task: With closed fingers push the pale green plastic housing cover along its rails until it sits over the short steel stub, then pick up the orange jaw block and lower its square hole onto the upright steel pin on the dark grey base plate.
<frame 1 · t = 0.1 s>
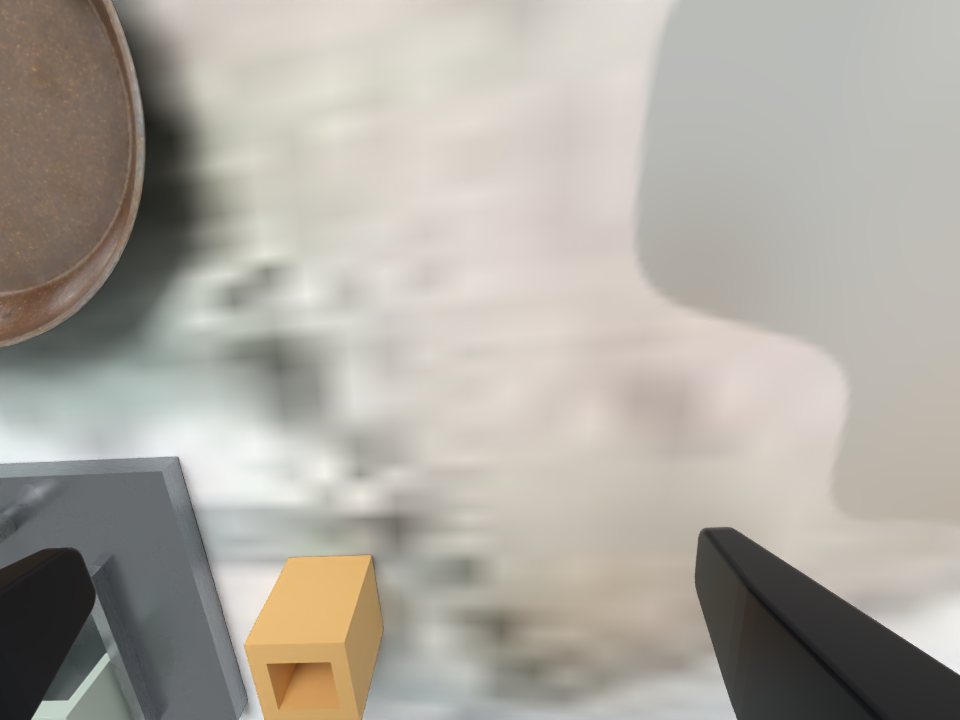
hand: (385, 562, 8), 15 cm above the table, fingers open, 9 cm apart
housing base: (59, 594, 27), on the table
housing cover: (46, 718, 26), point 3 cm above the table, slide at 0.0 cm
jaw block: (337, 594, 27), on the table
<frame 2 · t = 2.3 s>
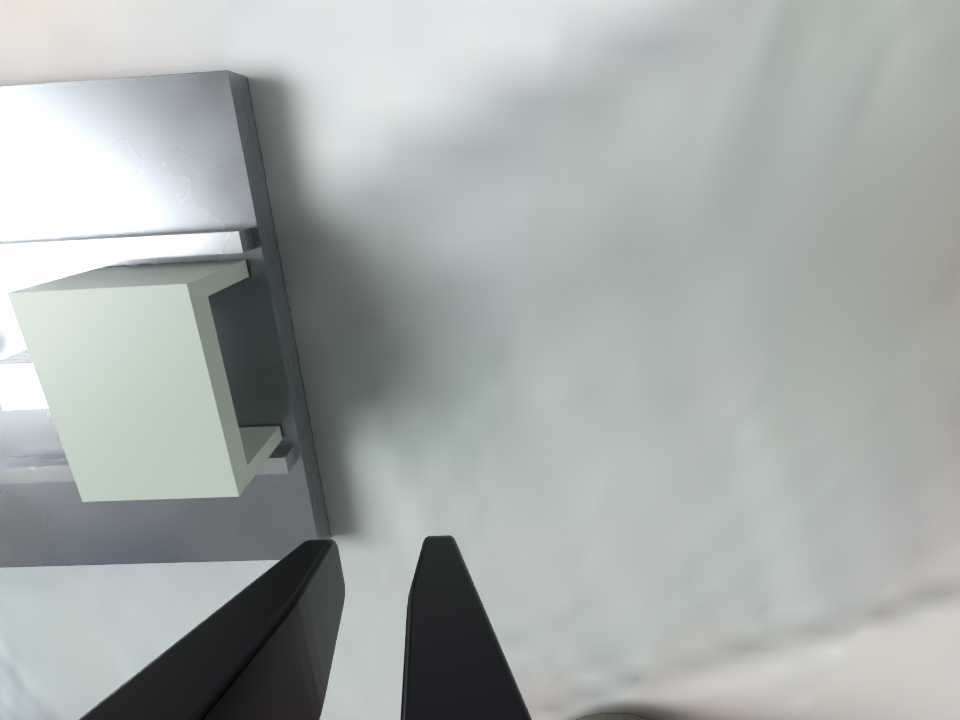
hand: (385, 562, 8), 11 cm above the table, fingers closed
housing base: (80, 351, 19), on the table
housing cover: (166, 377, 16), point 3 cm above the table, slide at 0.0 cm
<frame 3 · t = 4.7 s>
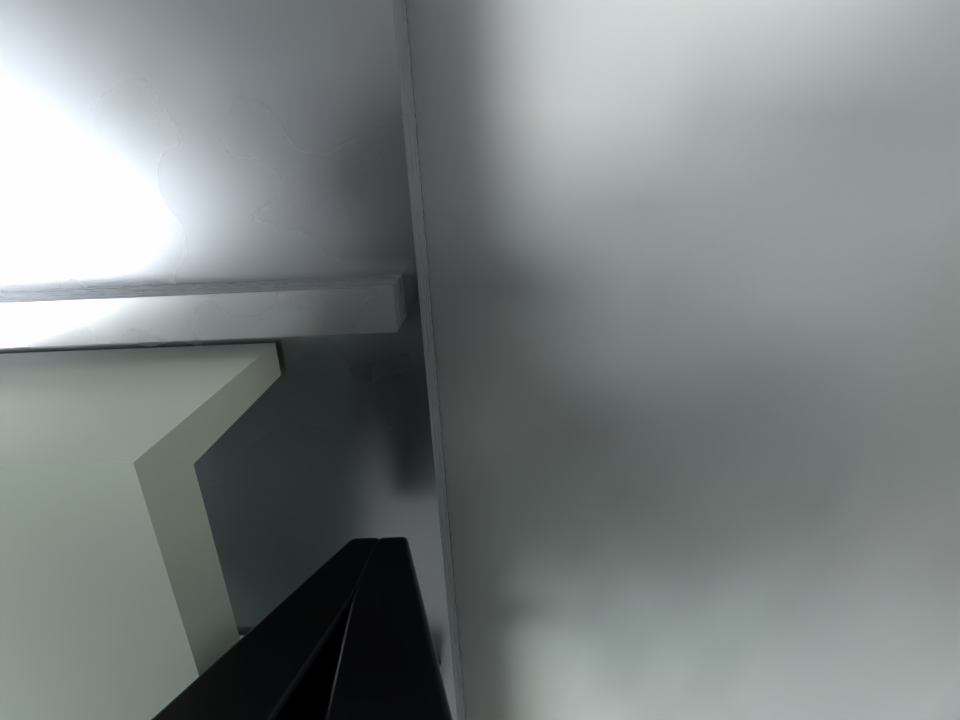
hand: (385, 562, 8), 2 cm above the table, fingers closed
housing base: (51, 481, 10), on the table
housing cover: (107, 595, 7), point 3 cm above the table, slide at 1.6 cm, touching gripper
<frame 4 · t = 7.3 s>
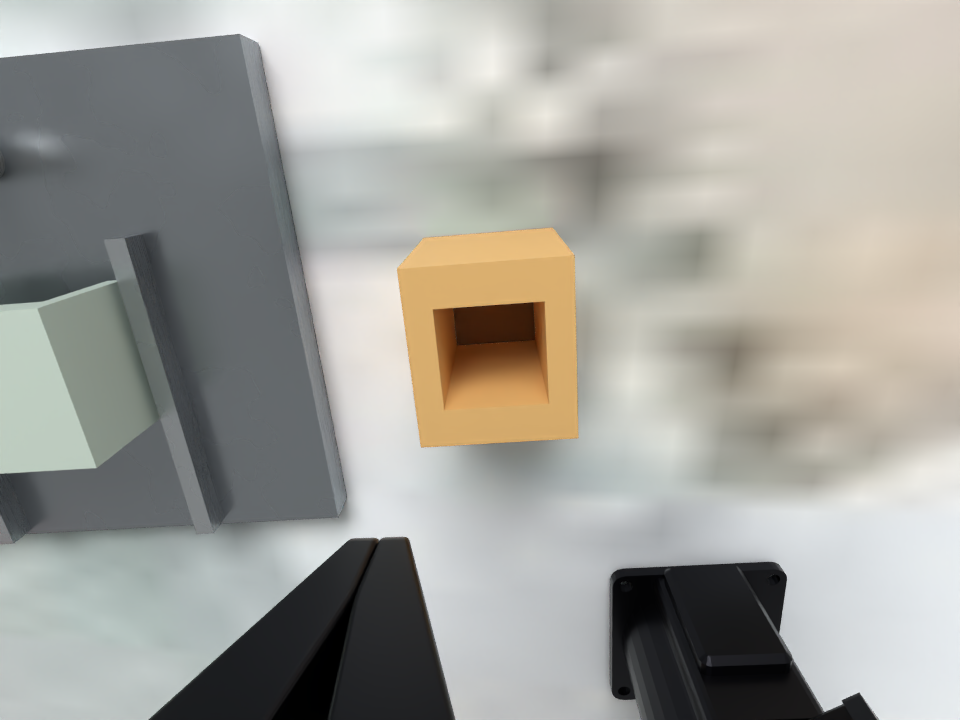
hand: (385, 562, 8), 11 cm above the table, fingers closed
housing base: (74, 320, 18), on the table
housing cover: (10, 376, 16), point 3 cm above the table, slide at 3.9 cm
jaw block: (493, 304, 18), on the table
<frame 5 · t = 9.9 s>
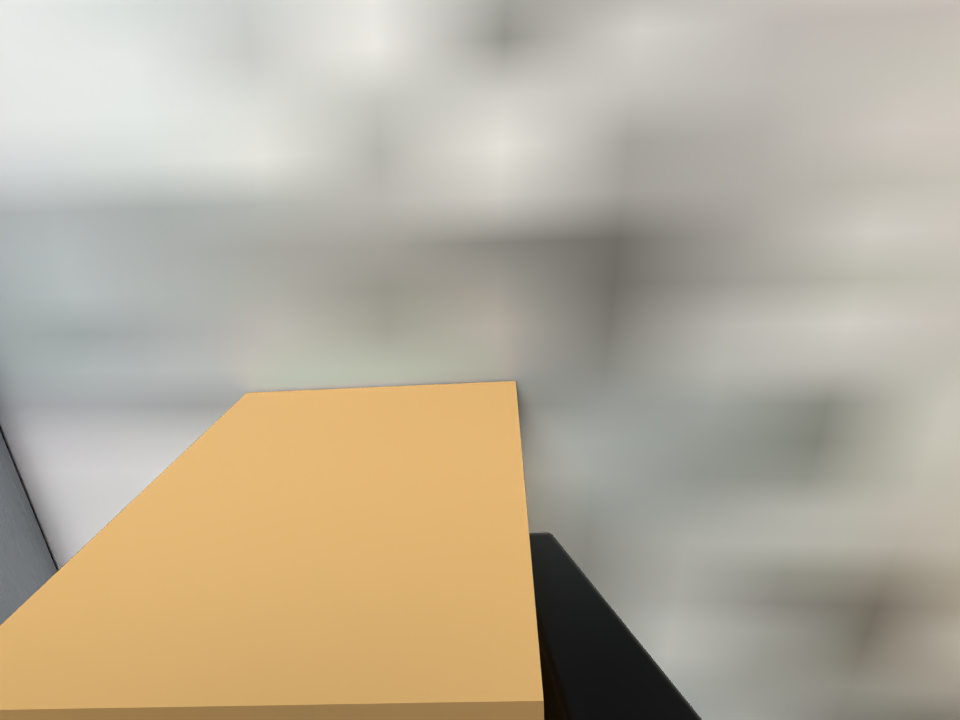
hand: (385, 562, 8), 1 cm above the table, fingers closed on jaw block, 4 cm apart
jaw block: (397, 517, 9), on the table, touching gripper
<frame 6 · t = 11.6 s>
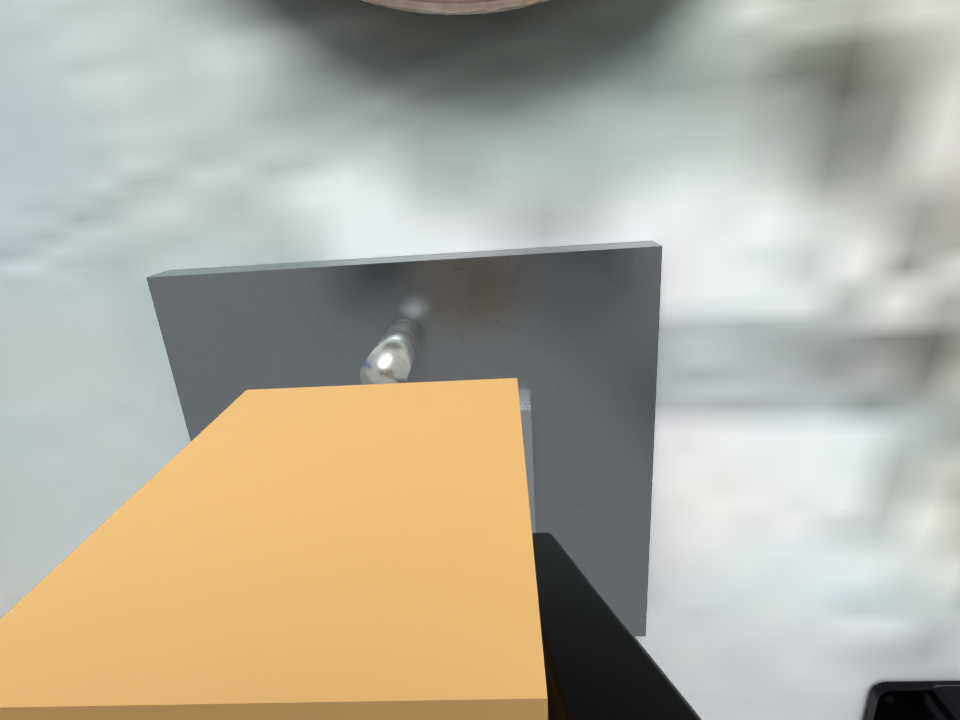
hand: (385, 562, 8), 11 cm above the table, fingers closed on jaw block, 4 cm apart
housing base: (426, 458, 20), on the table
jaw block: (397, 515, 9), point 11 cm above the table, touching gripper
when the fingers open (3 cm above the table, at t = 13.5 s): jaw block drops 1 cm, resting on housing base.
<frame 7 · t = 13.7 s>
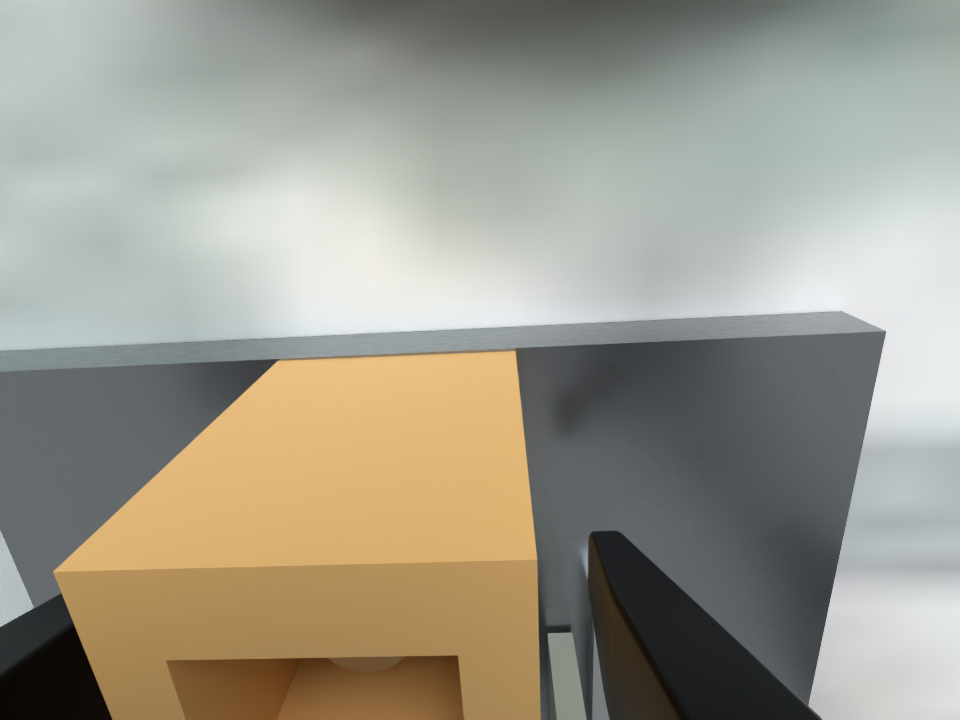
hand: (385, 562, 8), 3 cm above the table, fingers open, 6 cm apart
housing base: (436, 637, 13), on the table
jaw block: (409, 475, 10), point 1 cm above the table, touching housing base
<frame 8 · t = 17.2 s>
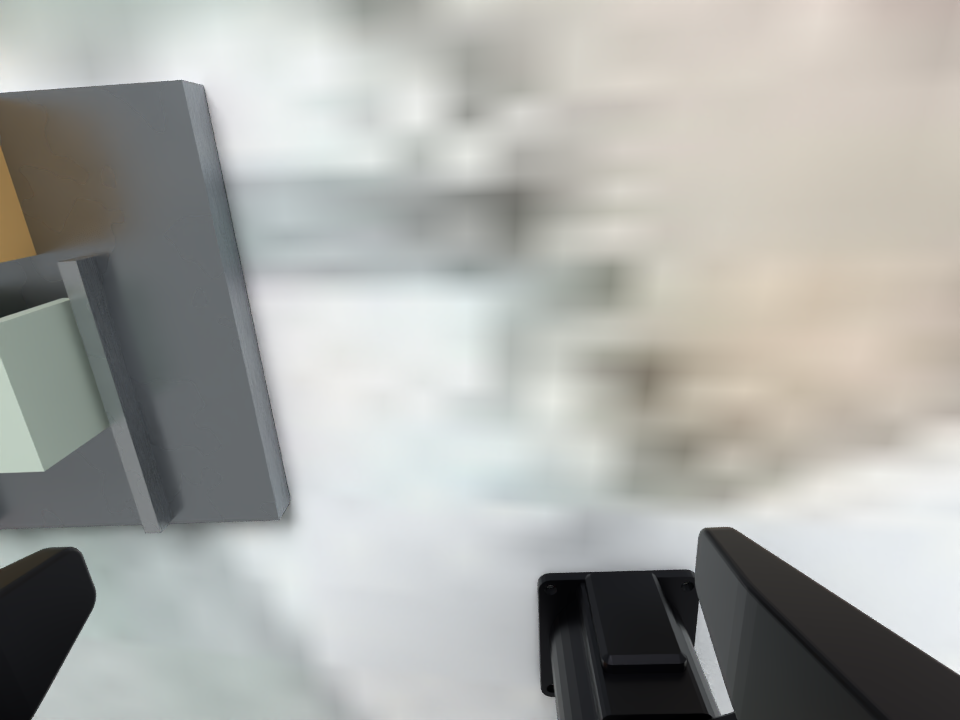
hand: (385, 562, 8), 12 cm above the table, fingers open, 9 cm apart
housing base: (34, 332, 20), on the table
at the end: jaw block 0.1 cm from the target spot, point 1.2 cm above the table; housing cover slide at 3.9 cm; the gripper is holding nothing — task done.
